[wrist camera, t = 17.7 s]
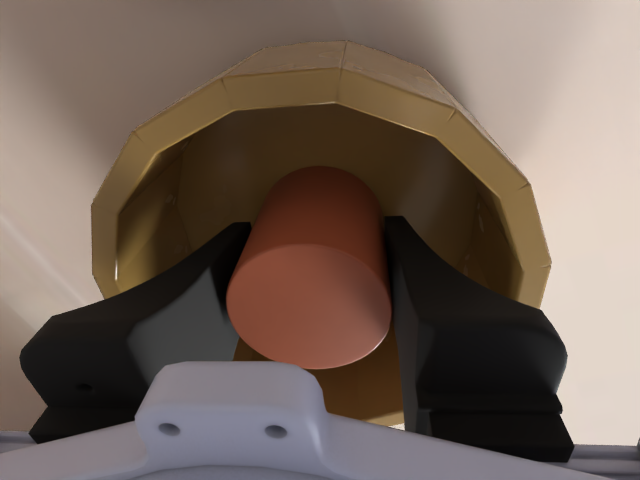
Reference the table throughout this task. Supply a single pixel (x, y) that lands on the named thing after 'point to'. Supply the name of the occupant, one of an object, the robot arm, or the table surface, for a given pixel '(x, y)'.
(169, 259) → the tin
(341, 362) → the candle
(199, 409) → the robot arm
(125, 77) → the table surface
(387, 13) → the table surface
